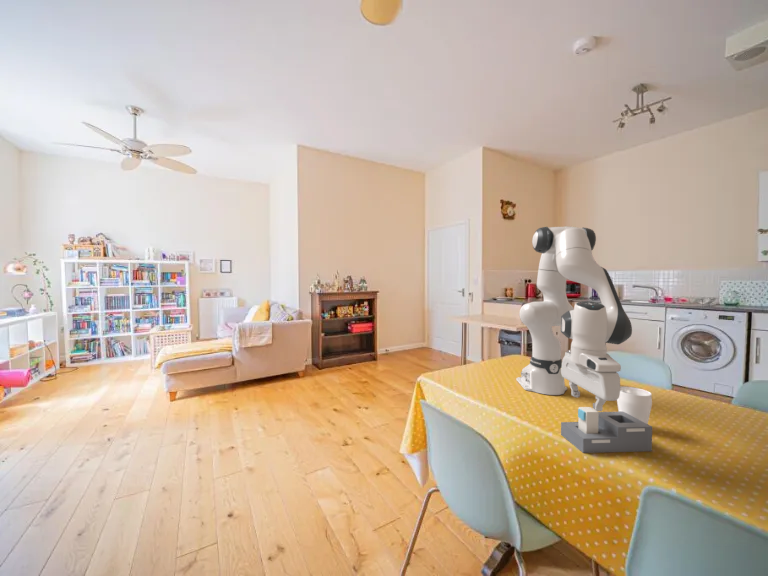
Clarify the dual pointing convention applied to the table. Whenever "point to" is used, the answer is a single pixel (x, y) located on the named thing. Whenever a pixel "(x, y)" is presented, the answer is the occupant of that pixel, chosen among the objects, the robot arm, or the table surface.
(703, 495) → the table surface
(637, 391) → the cup
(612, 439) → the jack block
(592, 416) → the plug
